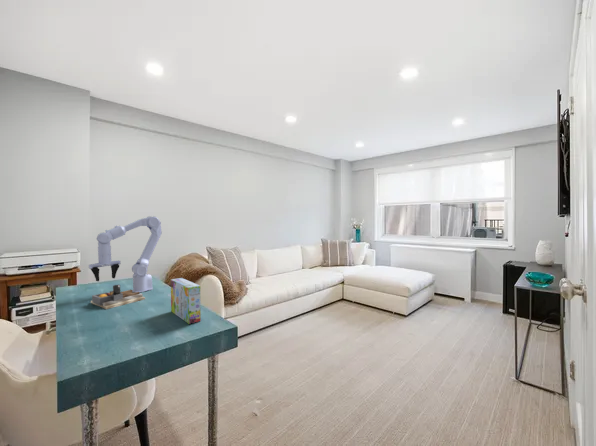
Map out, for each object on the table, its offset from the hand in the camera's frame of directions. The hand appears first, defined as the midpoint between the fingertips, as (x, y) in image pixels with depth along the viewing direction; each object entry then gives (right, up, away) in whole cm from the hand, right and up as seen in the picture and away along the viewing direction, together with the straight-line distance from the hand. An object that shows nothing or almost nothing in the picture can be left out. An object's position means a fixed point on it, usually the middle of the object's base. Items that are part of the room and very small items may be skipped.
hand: (105, 279), depth 152 cm
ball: (+7, -7, -12) cm, 16 cm away
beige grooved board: (+12, -10, -8) cm, 17 cm away
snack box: (+55, -10, -30) cm, 64 cm away
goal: (+7, -9, -12) cm, 17 cm away
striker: (+12, -8, -11) cm, 18 cm away
